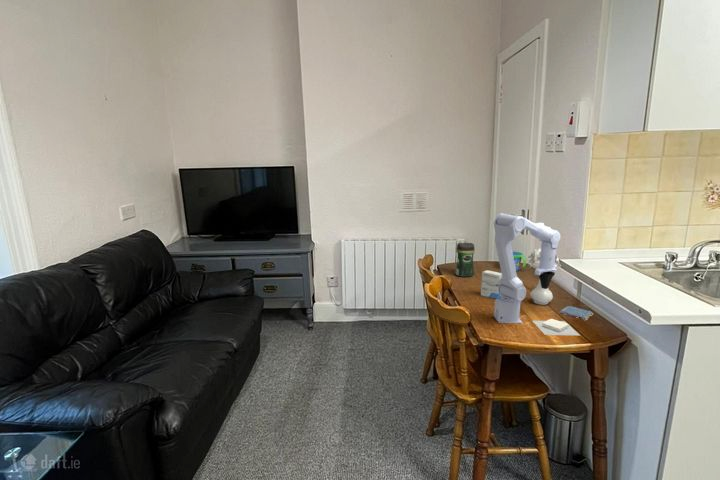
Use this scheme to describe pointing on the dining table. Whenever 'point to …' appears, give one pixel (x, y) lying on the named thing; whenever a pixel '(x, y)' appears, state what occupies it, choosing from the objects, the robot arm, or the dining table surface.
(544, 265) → the robot arm
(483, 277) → the ink box
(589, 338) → the dining table surface
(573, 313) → the woven mat
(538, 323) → the felt pad
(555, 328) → the tile
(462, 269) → the coffee jar
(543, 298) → the flower vase
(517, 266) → the snack cup
